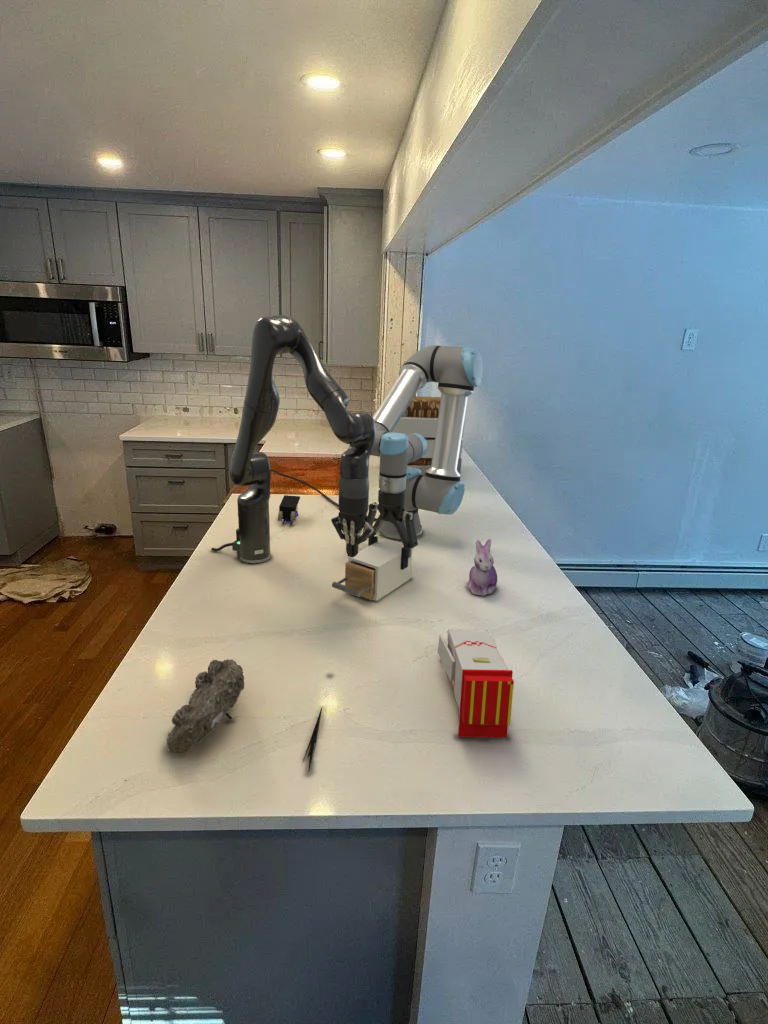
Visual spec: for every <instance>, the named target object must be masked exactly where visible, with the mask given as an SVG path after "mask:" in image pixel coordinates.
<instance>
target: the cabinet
mask: <svg viewBox="0 0 768 1024" xmlns="http://www.w3.org/2000/svg"><path fill="white" fill-rule="evenodd" d="M403 547H404V545H403V543H402V542H399V541H397V540H393V539H390V538H387V537H384V538H382V539H380V540H378V542H376V543H374V544H372V545H370V546H368V545H367V546H366V547H364V548H362V549H360V550H358V554H357V555H356V556H355V557H353V558H352V557H349V556H347V559H348V560H347V562H351V563H354V562H357V563H360V564H363V565H365V566H368V567H371V568H374V569H375V591H374V594H373V599H372V600H373V601H375V602H378V601H380V600H382V598H384V597H385V596H387V595H389V593H391V592H393V591H395V590H396V589H397V588H399V587H400V586H402V585H403V584H405V583H406V582H408V581H409V580H411V578H412V565H413V551H414V550H413V549H414V548H411V557H410V558H409V559H408V567H407V568H405V569H403V570H401V551H402V548H403ZM372 600H371V601H372Z"/></svg>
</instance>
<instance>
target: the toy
mask: <svg viewBox="0 0 768 1024" xmlns="http://www.w3.org/2000/svg"><path fill="white" fill-rule="evenodd" d="M446 640H447V643H446V641H445V639H444V636H443V635H442V634H439V637H438V646H437V656H438V657H439V659H440V661H441V663H442V666H443V668H444V670H445V672H446V674H447V677H448V679H449V681H450V684H451V687H452V690H453V693H454V697H455V701H456V705H457V708H458V711H459V714H458V715H459V716H458V730H457V731H458V732H457V737H458V738H508V731H509V726H510V725H511V717H512V707H513V697H514V696H513V695H514V684H515V680H514V679H513V673H514V671H513V670H512V669H508V667H507V665H506V662H505V661H504V659H503V658H502V655H501V653H500V651H499V649H498V647H497V643H496V639H495V637H494V635H493V634H491V632H490V631H489V629H467V628H466V629H465V628H463V629H461V628H460V629H459V628H448V630H447V639H446Z"/></svg>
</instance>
